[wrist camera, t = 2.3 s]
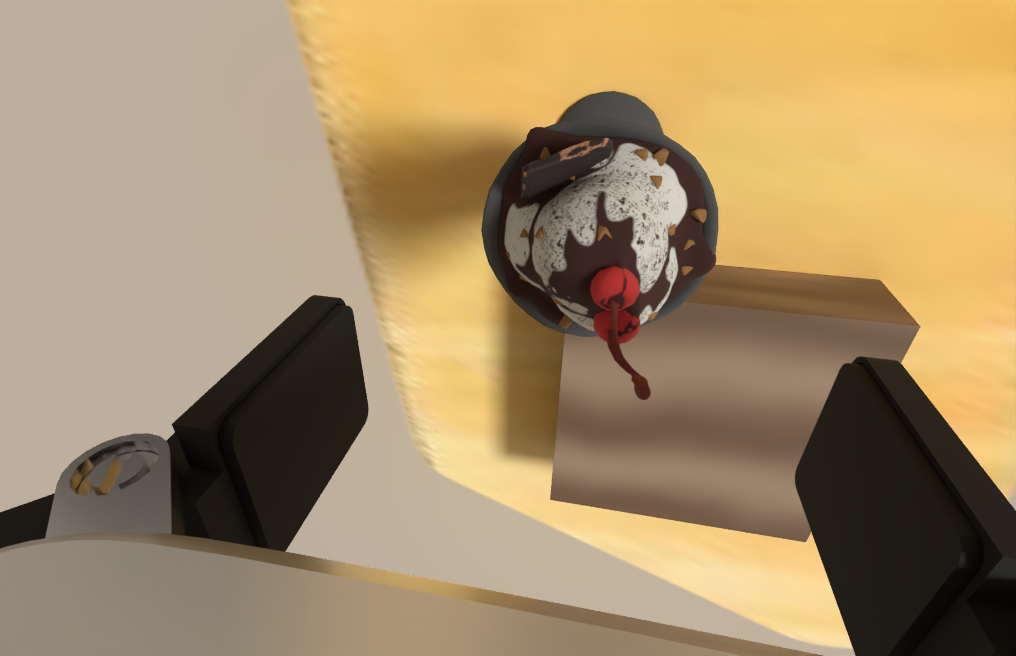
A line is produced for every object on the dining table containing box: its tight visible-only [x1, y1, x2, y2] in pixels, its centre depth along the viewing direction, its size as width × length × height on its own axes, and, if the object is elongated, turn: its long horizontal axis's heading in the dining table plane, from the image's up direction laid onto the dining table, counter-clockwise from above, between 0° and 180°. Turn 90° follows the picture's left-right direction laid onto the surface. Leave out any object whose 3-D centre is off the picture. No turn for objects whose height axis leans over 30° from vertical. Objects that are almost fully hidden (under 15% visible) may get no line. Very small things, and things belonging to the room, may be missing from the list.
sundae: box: [482, 91, 718, 400], centre depth 17 cm, size 7×7×15 cm
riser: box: [550, 265, 920, 542], centre depth 27 cm, size 14×14×4 cm
